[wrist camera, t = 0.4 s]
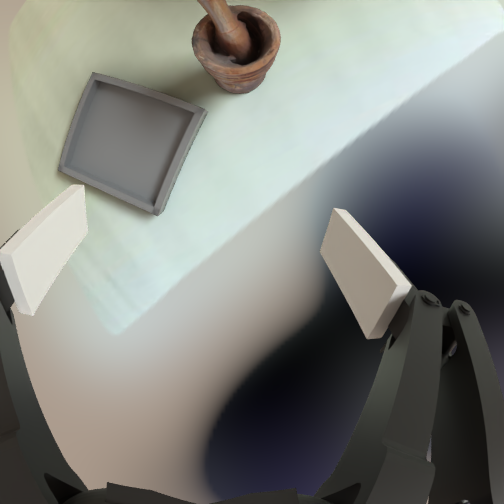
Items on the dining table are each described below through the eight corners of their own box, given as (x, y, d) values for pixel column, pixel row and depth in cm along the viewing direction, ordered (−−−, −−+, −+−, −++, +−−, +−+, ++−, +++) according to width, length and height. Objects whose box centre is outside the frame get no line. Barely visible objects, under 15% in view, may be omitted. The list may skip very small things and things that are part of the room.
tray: (101, 75, 31) (92, 72, 28) (208, 111, 35) (204, 109, 32) (67, 167, 37) (57, 170, 34) (163, 210, 40) (157, 216, 37)
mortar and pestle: (180, 65, 32) (126, 11, 13) (218, 23, 29) (198, -54, 11) (243, 107, 35) (241, 74, 16) (282, 65, 32) (314, 4, 14)
